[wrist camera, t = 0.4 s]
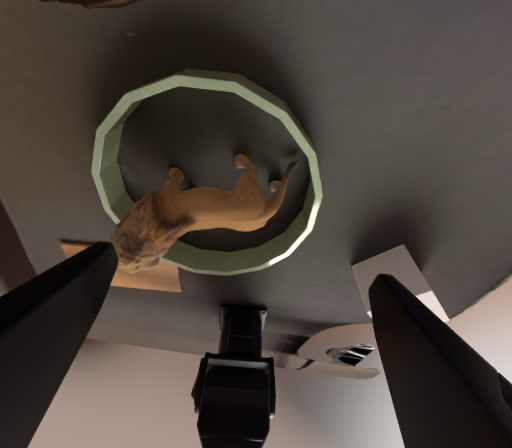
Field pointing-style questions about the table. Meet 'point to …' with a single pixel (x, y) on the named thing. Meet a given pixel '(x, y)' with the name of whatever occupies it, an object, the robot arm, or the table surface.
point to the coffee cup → (96, 3)
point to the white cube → (403, 270)
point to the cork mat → (138, 273)
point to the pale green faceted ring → (179, 253)
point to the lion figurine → (192, 214)
